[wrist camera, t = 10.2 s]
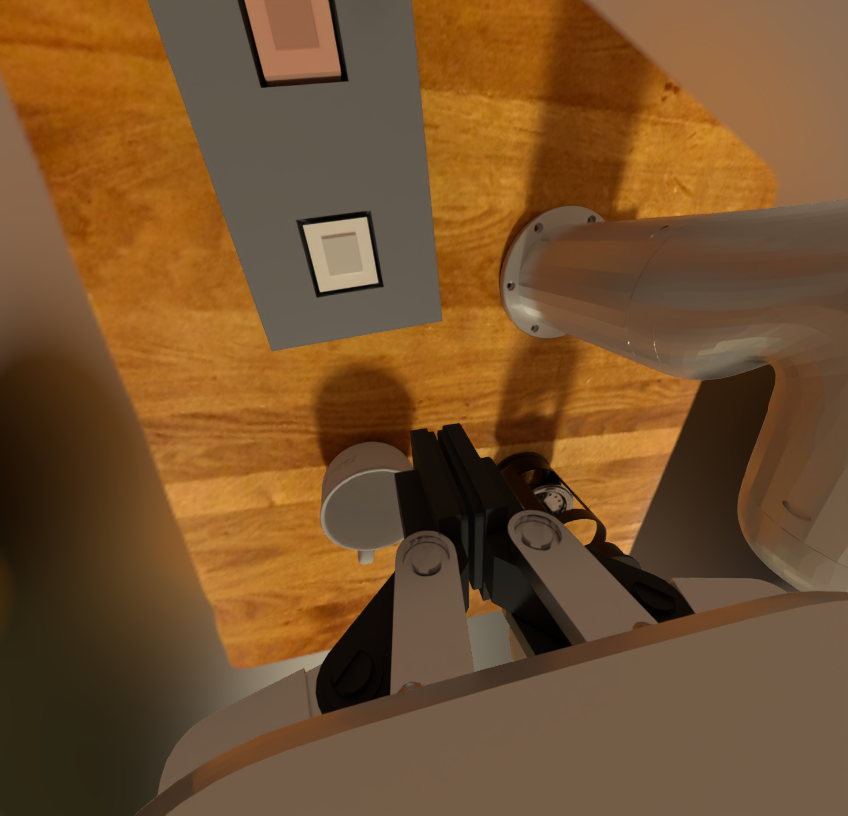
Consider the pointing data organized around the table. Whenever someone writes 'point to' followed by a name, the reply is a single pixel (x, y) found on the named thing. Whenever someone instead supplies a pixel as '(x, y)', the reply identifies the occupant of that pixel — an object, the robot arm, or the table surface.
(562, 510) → the french press
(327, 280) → the key ivory
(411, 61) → the key console
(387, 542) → the teacup
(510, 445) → the table surface
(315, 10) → the key terracotta
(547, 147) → the table surface
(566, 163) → the table surface
